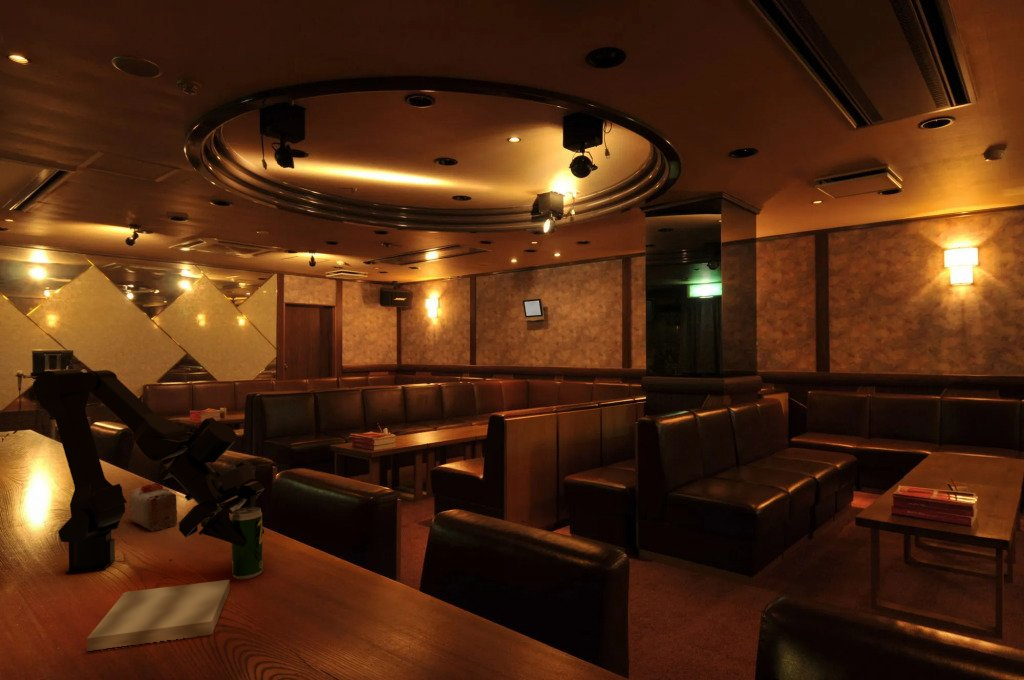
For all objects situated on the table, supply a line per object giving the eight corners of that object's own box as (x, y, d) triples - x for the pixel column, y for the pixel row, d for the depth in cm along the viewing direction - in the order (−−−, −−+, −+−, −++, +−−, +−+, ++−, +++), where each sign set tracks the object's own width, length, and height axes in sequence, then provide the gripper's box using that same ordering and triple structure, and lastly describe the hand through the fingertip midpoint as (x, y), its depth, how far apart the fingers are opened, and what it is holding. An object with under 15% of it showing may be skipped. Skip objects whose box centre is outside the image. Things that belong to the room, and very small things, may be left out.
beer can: (234, 582, 107) (233, 516, 107) (229, 572, 112) (228, 509, 112) (265, 575, 110) (264, 511, 110) (260, 566, 115) (259, 504, 115)
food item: (125, 522, 144) (124, 482, 144) (161, 514, 150) (160, 476, 150) (146, 534, 135) (146, 491, 135) (183, 525, 141) (183, 484, 141)
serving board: (87, 652, 84) (86, 638, 84) (125, 604, 99) (124, 592, 99) (211, 634, 88) (211, 621, 88) (229, 591, 104) (229, 579, 104)
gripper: (192, 460, 102) (253, 526, 101) (254, 441, 121) (306, 496, 119) (152, 504, 103) (211, 570, 102) (219, 478, 122) (270, 534, 120)
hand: (254, 539), depth 111 cm, fingers closed on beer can, 5 cm apart
